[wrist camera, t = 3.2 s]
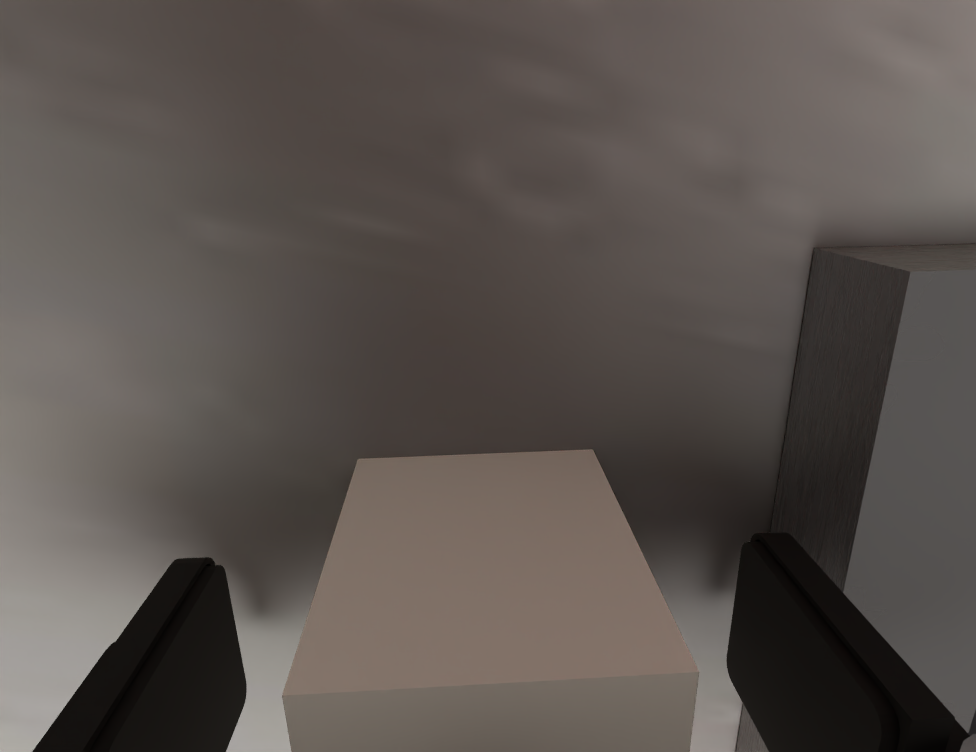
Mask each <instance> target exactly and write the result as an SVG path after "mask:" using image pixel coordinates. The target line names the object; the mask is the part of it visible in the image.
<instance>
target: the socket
mask: <svg viewBox="0 0 976 752" xmlns="http://www.w3.org/2000/svg"><path fill="white" fill-rule="evenodd" d="M777 532H786V533H789V534H790V535H791V536H793V538H794V539H795V540H796V541H797V542H798V543H799V544H800V545H801V547H802V548H803V549H804V550H805V551H806V552H807V553H808V554H809V555H810V557H811V558H812V559H813V560H814V561H815V562H816V563H817V564H818V565H819V567H820V568H821V569H822V570H823V571H824V572H825V573H826V574H827V575H828V577H829V578H830V579H831V580H832V581H833V582H834V583H835V584H836V585H837V587H838V588H839V589H840V590H841V591H842V592H843V593H844V594H845V595H846V597H847V598H848V599H849V600H850V601H851V602H852V603H853V604H854V605H855V607H856V608H857V609H858V610H859V611H860V612H861V613H862V614H863V616H864V617H865V618H866V619H867V620H868V621H869V622H870V623H871V624H872V626H873V627H874V628H875V629H876V630H877V631H878V632H879V633H880V634H881V636H882V637H883V638H884V639H885V640H886V641H887V642H888V643H889V644H890V646H891V647H892V648H893V649H894V650H895V651H896V652H897V653H898V654H899V656H900V657H901V658H902V659H903V660H904V661H905V662H906V663H907V664H908V666H909V667H910V668H911V669H912V670H913V671H914V672H915V673H916V674H917V676H918V677H919V678H920V679H921V680H922V681H923V682H924V683H925V685H926V686H927V687H928V688H929V689H930V690H931V691H932V692H933V693H934V695H935V696H936V697H937V698H938V699H939V700H940V701H941V702H942V703H943V705H944V706H945V707H946V708H947V709H948V710H949V711H950V712H951V713H952V715H953V716H954V717H955V720H956V721H957V722H958V723H959V724H960V725H961V726H962V727H963V728H964V730H965V731H966V732H967V733H968V734H969V735H970V736H971V735H973V734H976V244H950V245H913V246H875V247H838V248H814V254H813V261H812V267H811V273H810V280H809V286H808V293H807V299H806V305H805V312H804V318H803V325H802V331H801V337H800V344H799V350H798V357H797V363H796V370H795V376H794V382H793V389H792V395H791V402H790V408H789V414H788V421H787V427H786V434H785V440H784V446H783V453H782V459H781V466H780V472H779V478H778V485H777V491H776V498H775V504H774V510H773V517H772V523H771V530H770V533H777ZM736 752H769V751H768V749H767V747H766V745H765V744H764V742H763V740H762V738H761V736H760V734H759V732H758V730H757V728H756V727H755V725H754V723H753V721H752V719H751V717H750V715H749V713H748V711H747V710H746V708H745V706H744V704H743V709H742V716H741V722H740V728H739V735H738V741H737V748H736Z"/></svg>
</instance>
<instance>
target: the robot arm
mask: <svg viewBox="0 0 976 752" xmlns="http://www.w3.org/2000/svg"><path fill="white" fill-rule="evenodd" d="M727 668H728V673H729V676H730V679H731V681H732V683H733V685H734V687H735V689H736V691H737V693H738V694H739V696H740V698H741V700H742V702H743V704H744V706H745V708H746V710H747V711H748V713H749V715H750V717H751V719H752V721H753V723H754V725H755V727H756V728H757V730H758V732H759V734H760V736H761V738H762V740H763V742H764V744H765V745H766V747H767V749H768V751H769V752H976V734H973V735H971V736H970V735H969V734H968V733H967V732H966V731H965V730H964V728H963V727H962V726H961V725H960V724H959V723H958V722H957V721H956V720H955V717H954V716H953V715H952V713H951V712H950V711H949V710H948V709H947V708H946V707H945V706H944V705H943V703H942V702H941V701H940V700H939V699H938V698H937V697H936V696H935V695H934V693H933V692H932V691H931V690H930V689H929V688H928V687H927V686H926V685H925V683H924V682H923V681H922V680H921V679H920V678H919V677H918V676H917V674H916V673H915V672H914V671H913V670H912V669H911V668H910V667H909V666H908V664H907V663H906V662H905V661H904V660H903V659H902V658H901V657H900V656H899V654H898V653H897V652H896V651H895V650H894V649H893V648H892V647H891V646H890V644H889V643H888V642H887V641H886V640H885V639H884V638H883V637H882V636H881V634H880V633H879V632H878V631H877V630H876V629H875V628H874V627H873V626H872V624H871V623H870V622H869V621H868V620H867V619H866V618H865V617H864V616H863V614H862V613H861V612H860V611H859V610H858V609H857V608H856V607H855V605H854V604H853V603H852V602H851V601H850V600H849V599H848V598H847V597H846V595H845V594H844V593H843V592H842V591H841V590H840V589H839V588H838V587H837V585H836V584H835V583H834V582H833V581H832V580H831V579H830V578H829V577H828V575H827V574H826V573H825V572H824V571H823V570H822V569H821V568H820V567H819V565H818V564H817V563H816V562H815V561H814V560H813V559H812V558H811V557H810V555H809V554H808V553H807V552H806V551H805V550H804V549H803V548H802V547H801V545H800V544H799V543H798V542H797V541H796V540H795V539H794V538H793V536H791V535H790V534H789V533H786V532H777V533H756V534H754V535H753V536H752V538H751V540H750V542H745V543H744V544H743V546H742V549H741V557H740V564H739V571H738V579H737V586H736V593H735V601H734V608H733V615H732V623H731V630H730V637H729V645H728V652H727ZM245 699H246V679H245V673H244V668H243V663H242V657H241V652H240V647H239V642H238V636H237V631H236V626H235V620H234V615H233V610H232V605H231V599H230V594H229V589H228V583H227V578H226V573H225V569H224V568H223V566H221V565H216V566H215V563H214V561H213V559H212V558H209V557H206V558H183V559H176V560H175V561H174V562H173V563H172V564H171V565H170V566H169V568H168V569H167V571H166V572H165V573H164V575H163V576H162V578H161V579H160V580H159V582H158V583H157V585H156V586H155V587H154V589H153V590H152V592H151V593H150V594H149V596H148V597H147V599H146V600H145V601H144V603H143V604H142V606H141V607H140V608H139V610H138V611H137V613H136V614H135V615H134V617H133V618H132V620H131V621H130V622H129V624H128V625H127V627H126V628H125V629H124V631H123V632H122V634H121V635H120V636H119V638H118V639H117V641H116V642H114V643H112V644H111V645H110V646H109V647H108V649H107V650H106V651H105V652H104V653H103V655H102V656H101V658H100V659H99V660H98V662H97V663H96V664H95V666H94V667H93V669H92V670H91V671H90V673H89V674H88V676H87V677H86V678H85V680H84V681H83V682H82V684H81V685H80V687H79V688H78V689H77V691H76V692H75V694H74V695H73V696H72V698H71V699H70V700H69V702H68V703H67V705H66V706H65V707H64V709H63V710H62V712H61V713H60V714H59V716H58V717H57V718H56V720H55V721H54V723H53V724H52V725H51V727H50V728H49V730H48V731H47V732H46V734H45V735H44V736H43V738H42V739H41V741H40V742H39V743H38V745H37V746H36V747H35V749H34V750H33V752H226V750H227V747H228V745H229V742H230V740H231V737H232V735H233V732H234V729H235V727H236V724H237V722H238V719H239V717H240V714H241V712H242V709H243V706H244V703H245Z"/></svg>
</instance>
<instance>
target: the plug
mask: <svg viewBox="0 0 976 752" xmlns="http://www.w3.org/2000/svg"><path fill="white" fill-rule="evenodd" d="M698 677H699V671H698V668H697V666H696V664H695V662H694V660H693V658H692V656H691V654H690V652H689V650H688V648H687V645H686V643H685V641H684V639H683V637H682V635H681V633H680V631H679V629H678V627H677V625H676V622H675V620H674V618H673V616H672V614H671V612H670V610H669V608H668V606H667V604H666V602H665V599H664V597H663V595H662V593H661V591H660V589H659V587H658V585H657V583H656V581H655V579H654V576H653V574H652V572H651V570H650V568H649V566H648V564H647V562H646V560H645V558H644V556H643V553H642V551H641V549H640V547H639V545H638V543H637V541H636V539H635V537H634V535H633V533H632V530H631V528H630V526H629V524H628V522H627V520H626V518H625V516H624V514H623V512H622V509H621V507H620V505H619V503H618V501H617V499H616V497H615V495H614V493H613V491H612V489H611V486H610V484H609V482H608V480H607V478H606V476H605V474H604V472H603V470H602V468H601V466H600V463H599V461H598V459H597V457H596V455H595V453H594V451H593V449H588V450H564V451H539V452H514V453H490V454H465V455H441V456H416V457H391V458H367V459H358V460H357V463H356V466H355V470H354V473H353V476H352V479H351V482H350V485H349V488H348V491H347V495H346V498H345V501H344V504H343V507H342V510H341V513H340V516H339V520H338V523H337V526H336V529H335V532H334V535H333V538H332V541H331V545H330V548H329V551H328V554H327V557H326V560H325V563H324V566H323V570H322V573H321V576H320V579H319V582H318V585H317V588H316V591H315V595H314V598H313V601H312V604H311V607H310V610H309V613H308V616H307V620H306V623H305V626H304V629H303V632H302V635H301V638H300V641H299V645H298V648H297V651H296V654H295V657H294V660H293V663H292V666H291V670H290V673H289V676H288V679H287V682H286V685H285V688H284V691H283V695H282V698H283V704H284V710H285V715H286V721H287V727H288V733H289V739H290V745H291V751H292V752H689V751H690V743H691V734H692V726H693V718H694V710H695V702H696V693H697V685H698Z"/></svg>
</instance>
